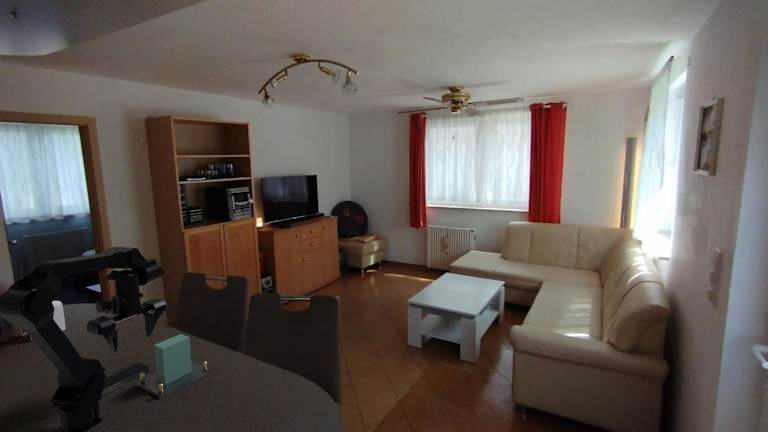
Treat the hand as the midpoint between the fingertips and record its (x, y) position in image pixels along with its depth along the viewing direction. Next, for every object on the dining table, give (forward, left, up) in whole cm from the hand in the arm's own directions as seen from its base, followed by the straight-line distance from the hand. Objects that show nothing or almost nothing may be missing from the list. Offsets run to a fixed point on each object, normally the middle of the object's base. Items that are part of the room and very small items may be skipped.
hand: (132, 343), depth 103 cm
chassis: (+7, -7, -13) cm, 16 cm away
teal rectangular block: (+7, -7, -12) cm, 16 cm away
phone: (0, +8, -14) cm, 16 cm away
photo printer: (+7, +61, -13) cm, 63 cm away
